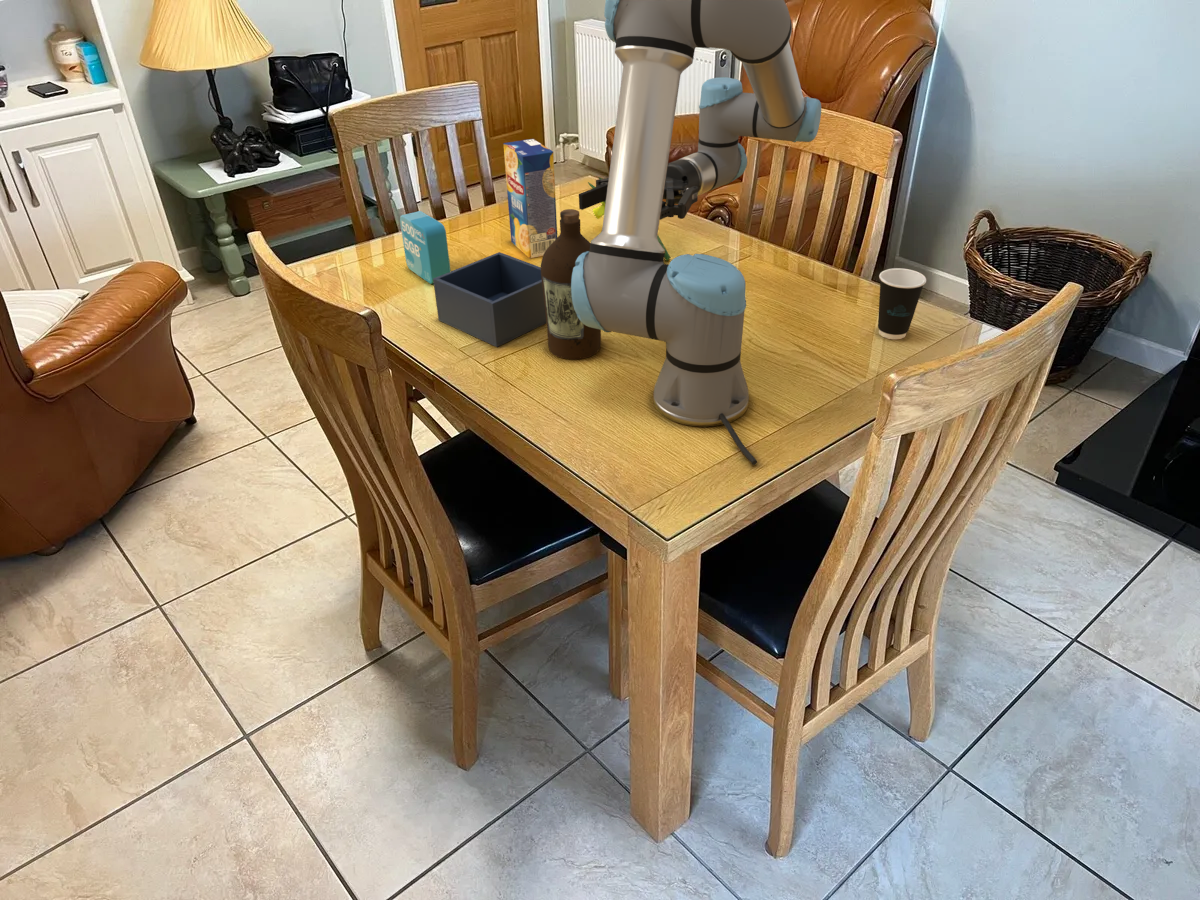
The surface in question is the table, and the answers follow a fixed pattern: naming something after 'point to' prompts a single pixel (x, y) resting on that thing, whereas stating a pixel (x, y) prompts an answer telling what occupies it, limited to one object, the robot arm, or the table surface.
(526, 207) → the cracker box
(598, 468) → the table surface
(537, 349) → the table surface
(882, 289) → the dixie cup
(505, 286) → the blue-grey hollow square box
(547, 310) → the brown bottle
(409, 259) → the data package
